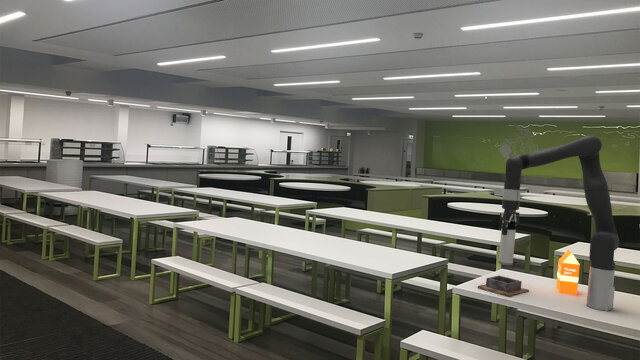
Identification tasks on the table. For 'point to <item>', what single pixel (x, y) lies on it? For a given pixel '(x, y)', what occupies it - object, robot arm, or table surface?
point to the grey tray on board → (503, 286)
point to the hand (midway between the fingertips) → (508, 234)
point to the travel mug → (507, 245)
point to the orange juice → (568, 274)
